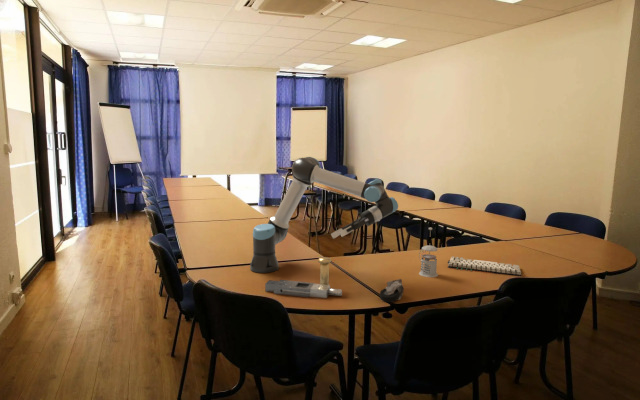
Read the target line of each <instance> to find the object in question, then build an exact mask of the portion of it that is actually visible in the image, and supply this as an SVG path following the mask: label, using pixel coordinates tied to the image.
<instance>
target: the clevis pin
mask: <svg viewBox="0 0 640 400" xmlns="http://www.w3.org/2000/svg"><path fill="white" fill-rule="evenodd" d="M331 259H332V258H331V257H327V256H322V257H321V256H320V257H318V263H319V265H320V266H319V269H320V271H319V278H320V279H319V284H323V285H330V284H329V281H330V279H329V278H330V277H329V276H330V275H329V274H330V273H329V272H330V263H331V261H332V260H331Z"/></svg>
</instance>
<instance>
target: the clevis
mask: <svg viewBox="0 0 640 400" xmlns="http://www.w3.org/2000/svg"><path fill="white" fill-rule="evenodd" d="M264 287H265V292H271V293H273V294H274V295H285V296H292V297H293V296H294V297H303V298H304V297H305V298H311V297H312V298H322V299H327V298H328V296H336V297H342V295H343V289H340V288H331V285H330V284H329V285H323V284H320V283H316V282H309V281H308V282H307V281H298V280H287V279H280V280H268V281H266V283H265V284H264Z"/></svg>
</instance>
